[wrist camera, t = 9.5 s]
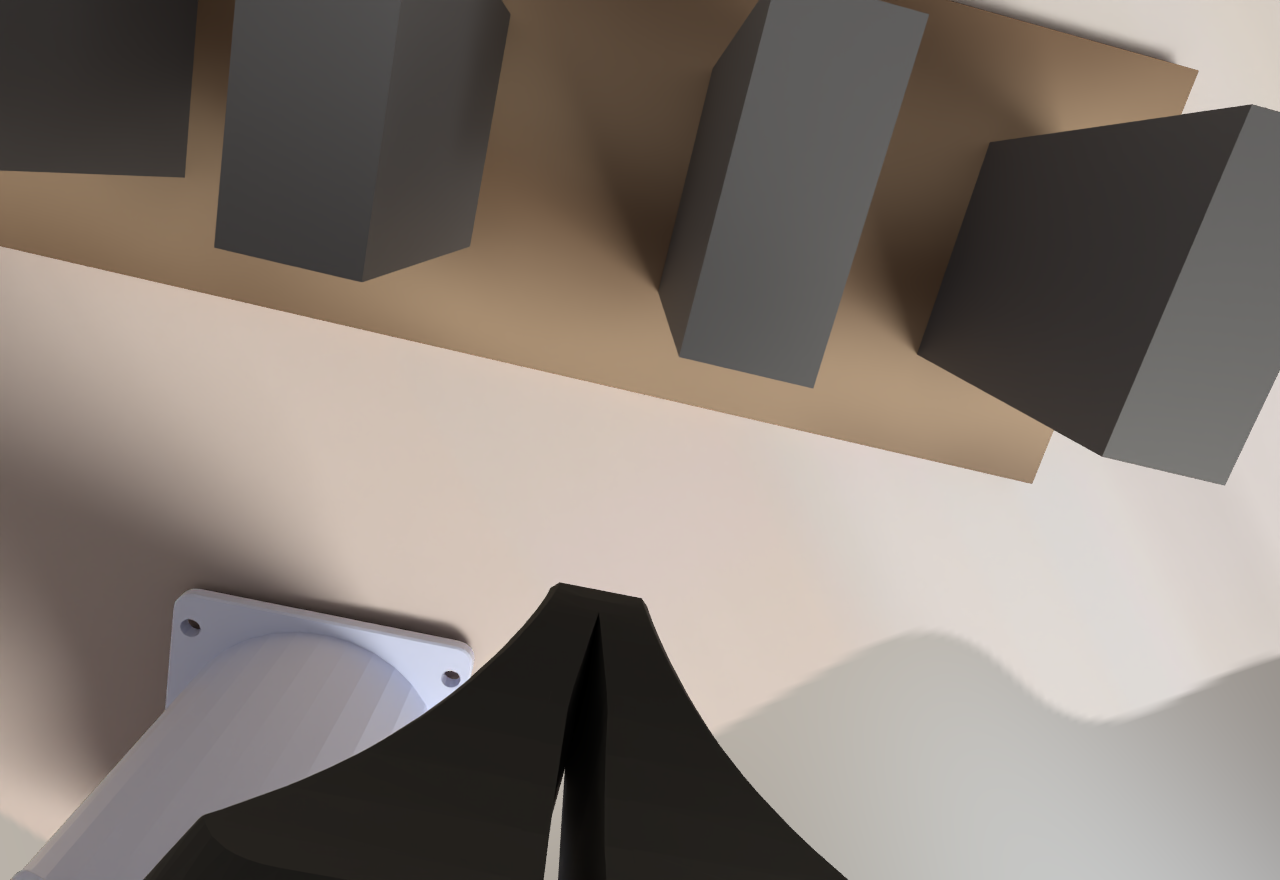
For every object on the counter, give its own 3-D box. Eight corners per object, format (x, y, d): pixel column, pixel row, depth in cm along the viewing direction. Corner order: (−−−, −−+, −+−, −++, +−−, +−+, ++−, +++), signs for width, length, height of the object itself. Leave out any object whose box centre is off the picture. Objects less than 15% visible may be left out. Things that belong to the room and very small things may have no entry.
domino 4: (1071, 164, 18) (1387, 142, 11) (993, 373, 20) (1225, 485, 12) (989, 142, 18) (1252, 104, 11) (917, 354, 20) (1102, 456, 12)
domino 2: (510, 14, 17) (419, -129, 10) (469, 246, 19) (362, 282, 11) (418, -11, 17) (250, -176, 10) (384, 225, 19) (213, 247, 11)
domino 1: (203, -68, 17) (-151, -288, 9) (184, 177, 18) (-136, 165, 11) (104, -95, 17) (-340, -341, 9) (93, 155, 18) (-300, 126, 10)
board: (1021, 476, 21) (1031, 484, 21) (-559, 111, 18) (-598, 108, 18) (1180, 74, 18) (1198, 70, 18) (-656, -441, 15) (-705, -465, 15)
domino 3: (799, 91, 18) (929, 15, 10) (739, 311, 19) (813, 388, 12) (712, 68, 18) (778, -28, 10) (658, 291, 19) (678, 356, 11)
